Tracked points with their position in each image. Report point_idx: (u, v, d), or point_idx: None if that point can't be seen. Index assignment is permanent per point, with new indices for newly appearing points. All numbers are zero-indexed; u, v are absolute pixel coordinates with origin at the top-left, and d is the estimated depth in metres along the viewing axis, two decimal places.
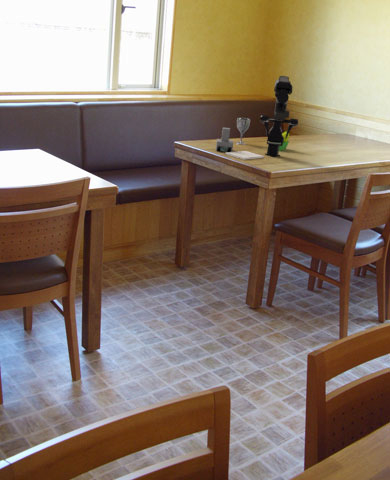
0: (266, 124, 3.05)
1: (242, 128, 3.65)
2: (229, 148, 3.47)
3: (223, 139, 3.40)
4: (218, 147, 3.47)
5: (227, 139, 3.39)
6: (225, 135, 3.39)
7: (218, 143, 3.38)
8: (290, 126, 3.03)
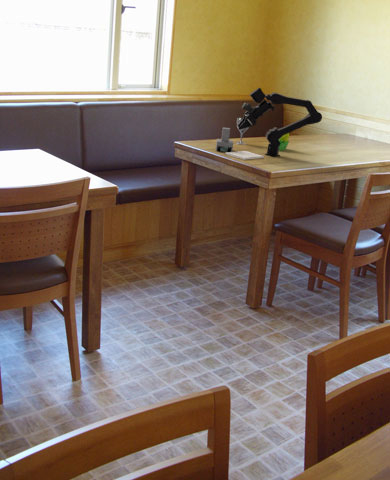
0: None
1: None
2: (229, 148, 3.47)
3: (223, 139, 3.40)
4: (218, 147, 3.47)
5: (227, 139, 3.39)
6: (225, 135, 3.39)
7: (218, 143, 3.38)
8: (245, 118, 3.32)
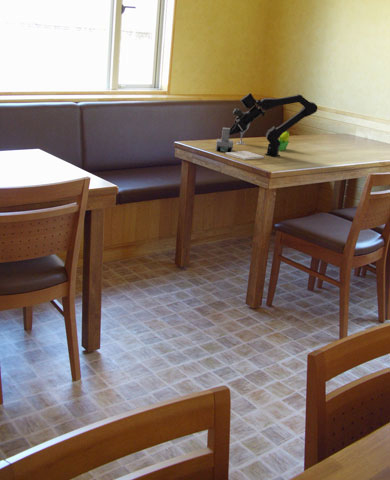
0: None
1: None
2: (229, 148, 3.47)
3: (223, 139, 3.40)
4: (218, 147, 3.47)
5: (227, 139, 3.39)
6: (225, 135, 3.39)
7: (218, 143, 3.38)
8: (235, 124, 3.33)
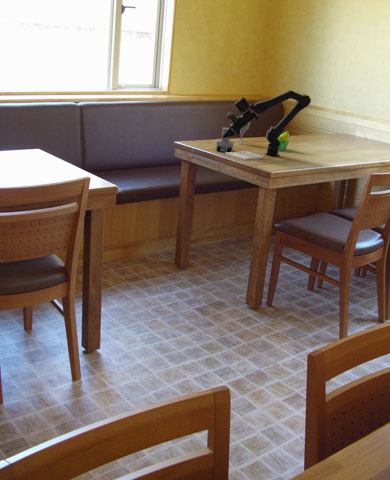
0: None
1: (242, 128, 3.65)
2: (229, 148, 3.47)
3: (223, 139, 3.40)
4: (218, 147, 3.47)
5: (227, 139, 3.39)
6: None
7: (218, 143, 3.38)
8: (229, 127, 3.36)
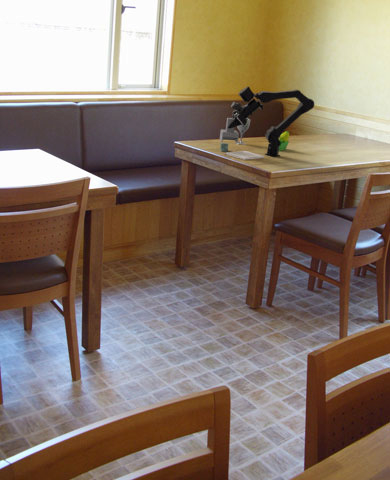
0: None
1: (242, 128, 3.65)
2: (233, 138, 3.43)
3: (228, 129, 3.35)
4: (222, 138, 3.42)
5: (232, 129, 3.35)
6: None
7: (224, 134, 3.33)
8: (234, 117, 3.31)
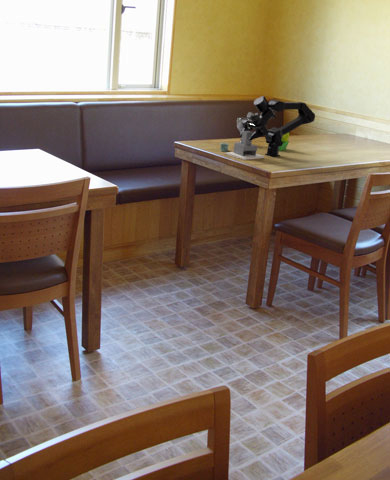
0: (244, 126, 3.34)
1: (242, 128, 3.65)
2: (245, 151, 3.38)
3: (246, 143, 3.30)
4: None
5: (250, 142, 3.31)
6: (248, 139, 3.29)
7: (245, 148, 3.27)
8: (256, 129, 3.25)
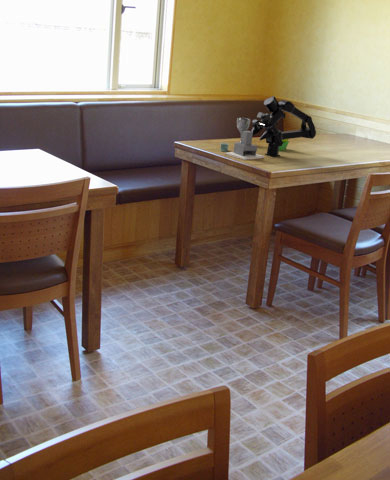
0: (253, 126, 3.38)
1: (242, 128, 3.65)
2: (245, 151, 3.38)
3: (246, 143, 3.30)
4: None
5: (250, 142, 3.31)
6: (248, 139, 3.29)
7: (245, 148, 3.27)
8: (266, 129, 3.28)
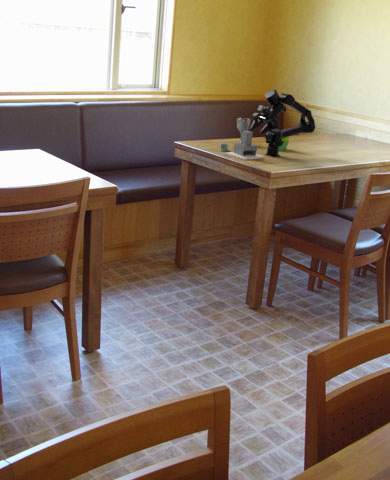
0: (254, 119, 3.37)
1: (242, 128, 3.65)
2: (245, 151, 3.38)
3: (246, 143, 3.30)
4: None
5: (250, 142, 3.31)
6: (248, 139, 3.29)
7: (245, 148, 3.27)
8: (267, 122, 3.27)
